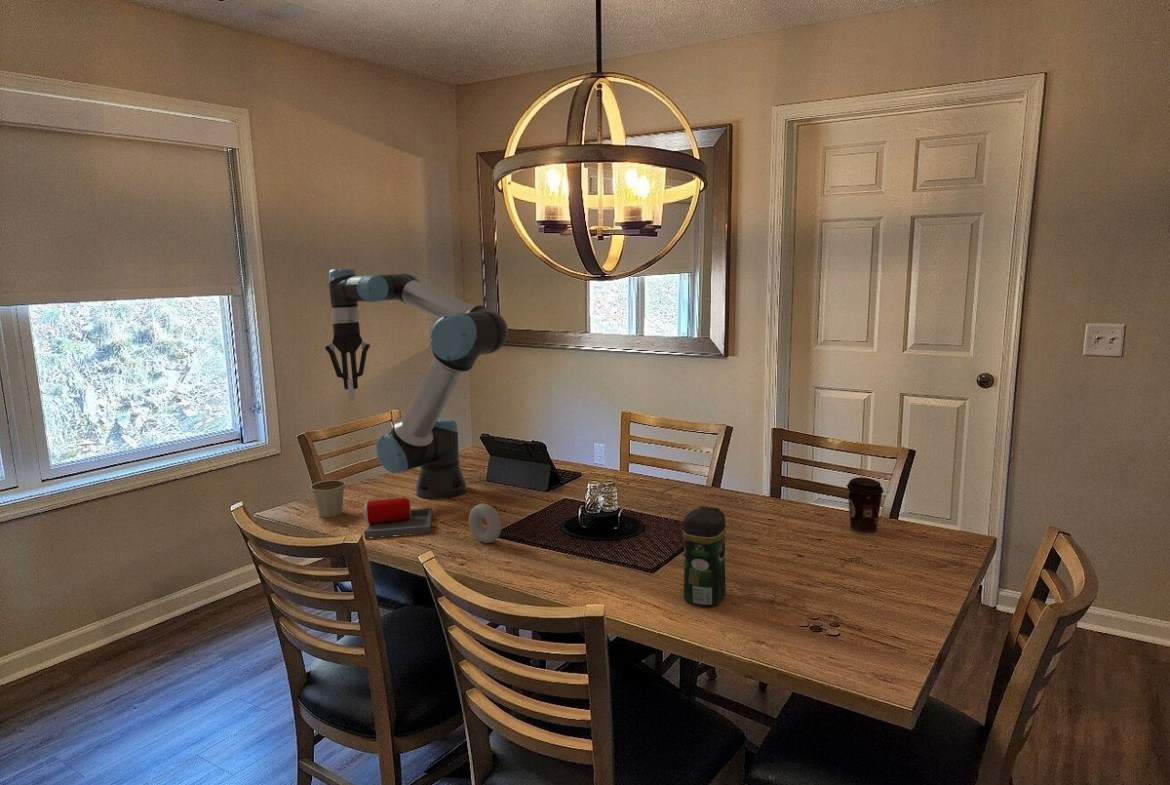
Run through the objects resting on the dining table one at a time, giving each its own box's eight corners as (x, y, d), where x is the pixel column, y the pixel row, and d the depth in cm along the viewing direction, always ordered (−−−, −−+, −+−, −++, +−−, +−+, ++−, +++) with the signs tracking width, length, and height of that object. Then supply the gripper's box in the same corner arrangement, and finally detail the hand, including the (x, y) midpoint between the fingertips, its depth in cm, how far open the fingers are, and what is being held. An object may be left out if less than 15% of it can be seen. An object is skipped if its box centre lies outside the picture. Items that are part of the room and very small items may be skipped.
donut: (505, 544, 180) (503, 505, 178) (495, 548, 177) (493, 509, 175) (476, 536, 186) (474, 498, 184) (466, 540, 183) (464, 502, 181)
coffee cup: (842, 533, 181) (844, 483, 179) (847, 522, 188) (849, 474, 186) (879, 538, 177) (882, 487, 175) (883, 527, 184) (885, 478, 182)
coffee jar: (692, 584, 154) (692, 501, 151) (729, 591, 151) (730, 505, 148) (678, 604, 146) (677, 516, 143) (716, 611, 142) (717, 521, 139)
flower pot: (341, 519, 200) (338, 489, 199) (307, 520, 201) (305, 490, 199) (352, 508, 210) (350, 479, 208) (320, 509, 210) (318, 480, 208)
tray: (432, 514, 203) (432, 507, 202) (430, 533, 188) (429, 526, 188) (371, 519, 200) (371, 512, 200) (364, 538, 186) (364, 531, 185)
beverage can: (364, 496, 196) (409, 492, 199) (366, 516, 199) (410, 511, 202) (363, 509, 191) (410, 504, 194) (365, 528, 193) (411, 524, 196)
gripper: (370, 319, 219) (375, 396, 224) (325, 321, 217) (331, 398, 221) (366, 321, 212) (372, 400, 216) (320, 323, 210) (327, 403, 214)
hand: (352, 399), depth 219 cm, fingers closed
